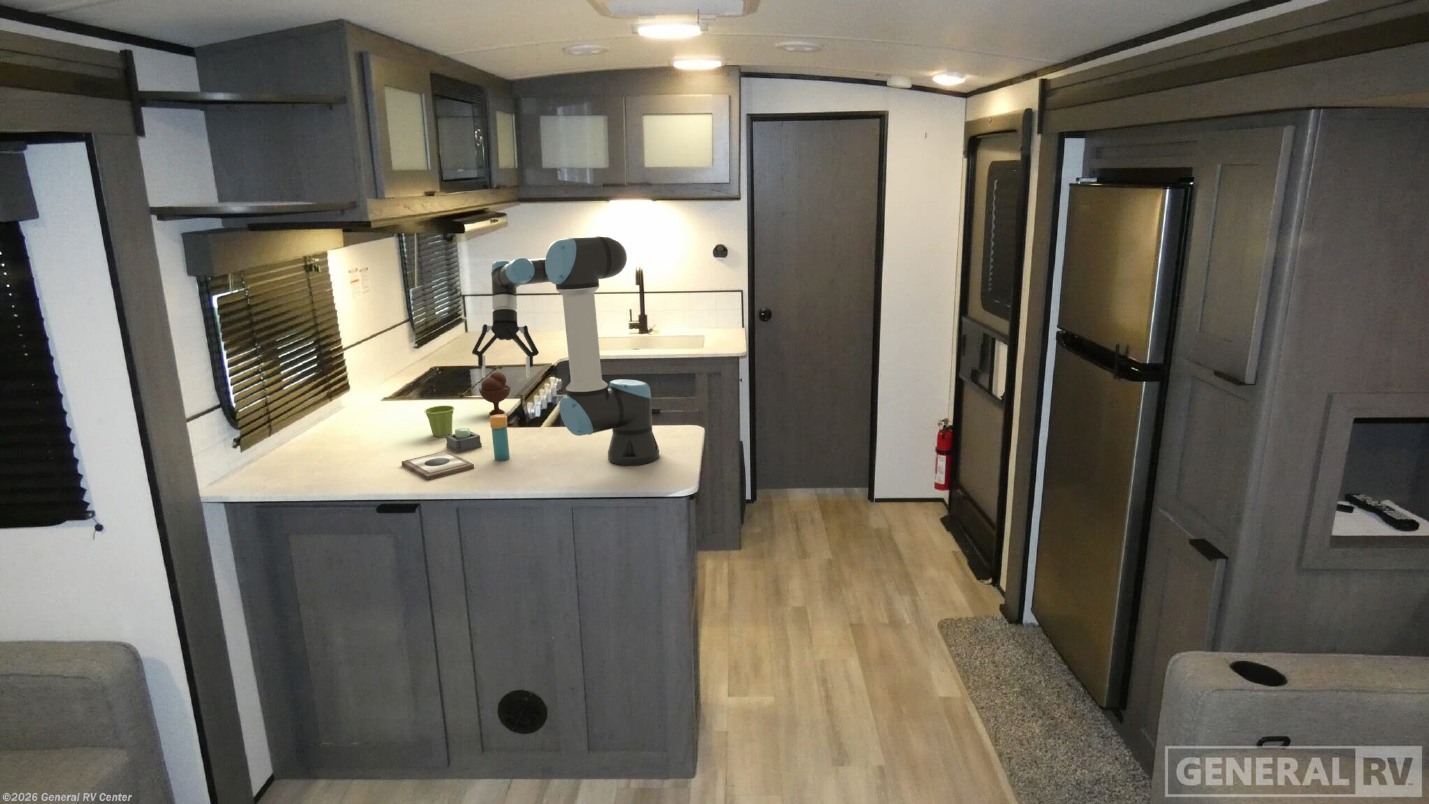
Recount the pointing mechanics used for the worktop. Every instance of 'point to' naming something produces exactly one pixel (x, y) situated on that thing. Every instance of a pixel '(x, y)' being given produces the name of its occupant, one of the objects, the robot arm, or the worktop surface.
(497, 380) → the ice cream bowl
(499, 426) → the orange-topped post
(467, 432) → the button
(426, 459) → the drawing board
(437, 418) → the plant pot
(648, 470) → the worktop surface
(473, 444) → the button housing
